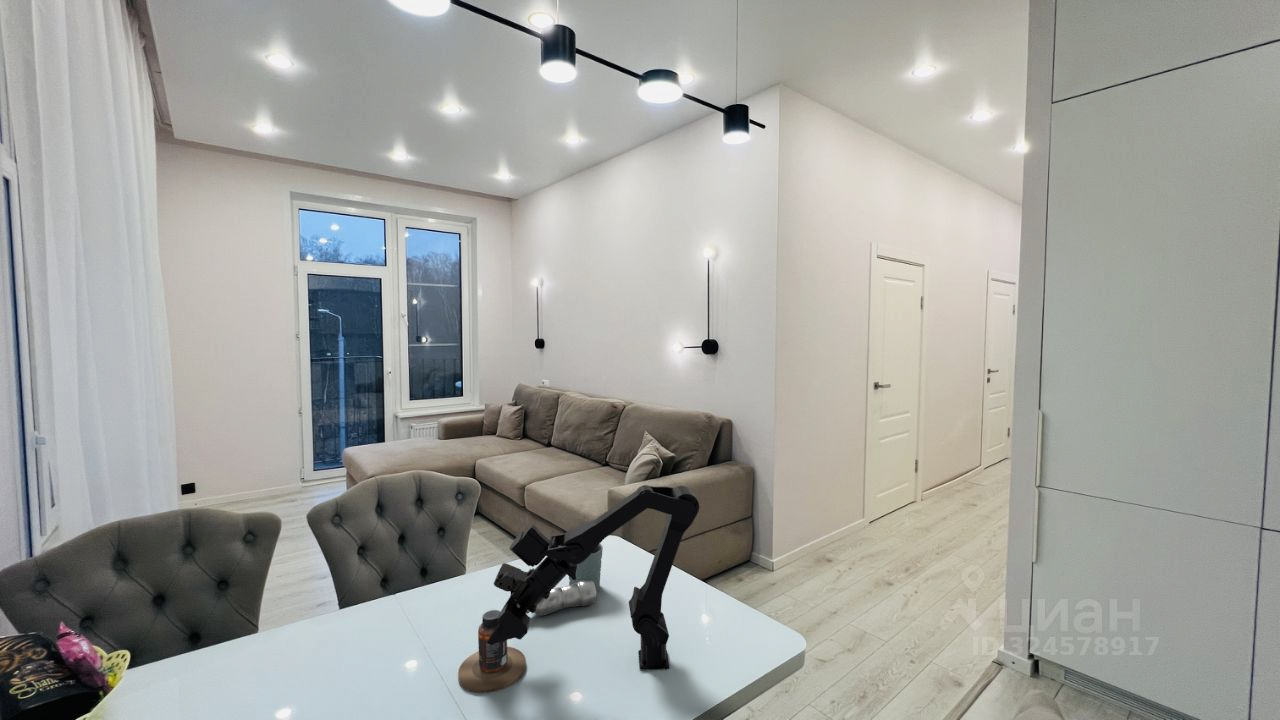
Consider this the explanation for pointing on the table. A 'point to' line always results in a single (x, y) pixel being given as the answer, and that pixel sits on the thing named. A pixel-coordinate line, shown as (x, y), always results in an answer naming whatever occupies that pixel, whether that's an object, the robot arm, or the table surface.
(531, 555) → the robot arm
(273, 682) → the table surface
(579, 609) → the table surface
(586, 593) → the plastic bottle
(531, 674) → the table surface
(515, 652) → the disc
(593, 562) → the grey-green cup
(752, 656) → the table surface
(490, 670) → the supplement bottle
